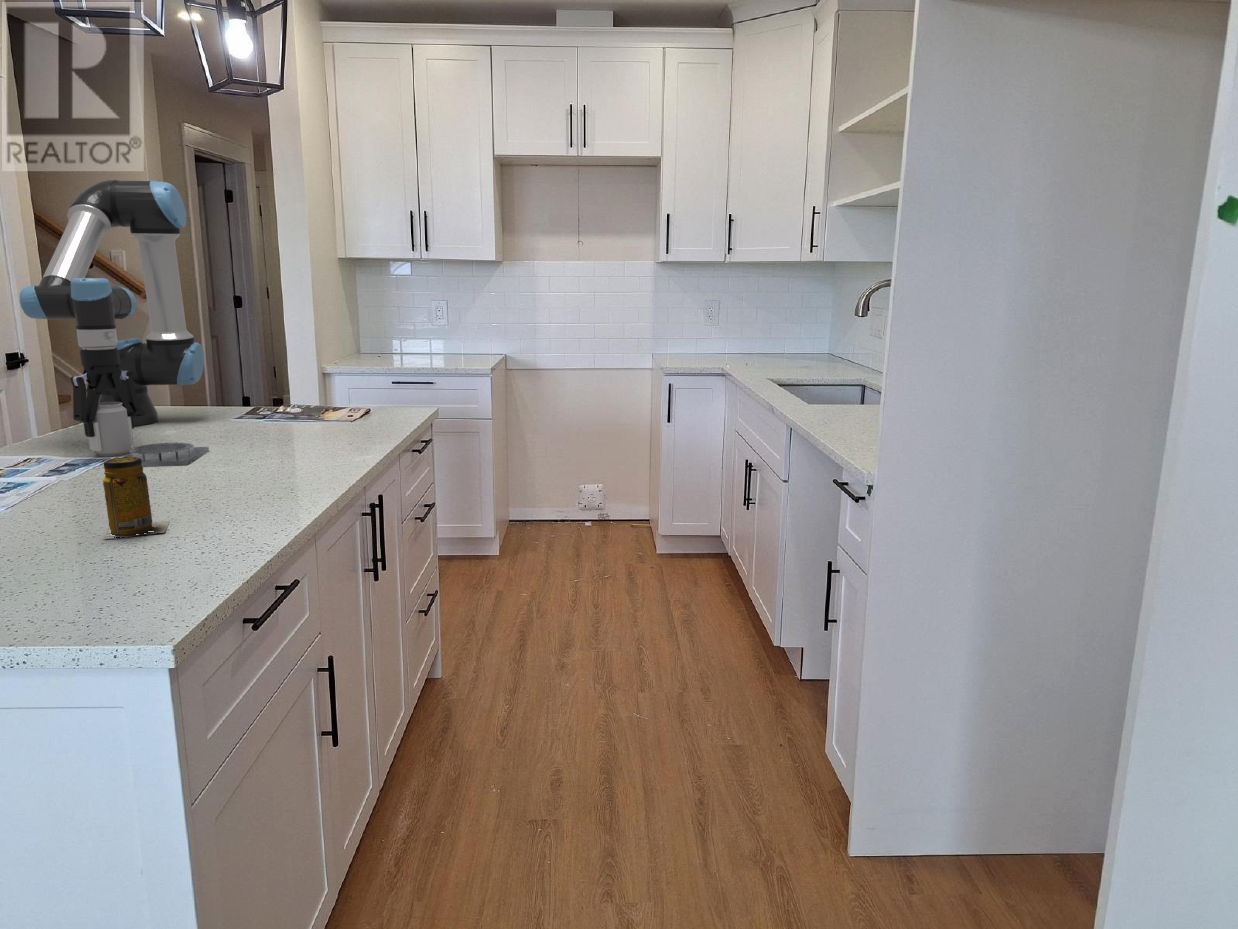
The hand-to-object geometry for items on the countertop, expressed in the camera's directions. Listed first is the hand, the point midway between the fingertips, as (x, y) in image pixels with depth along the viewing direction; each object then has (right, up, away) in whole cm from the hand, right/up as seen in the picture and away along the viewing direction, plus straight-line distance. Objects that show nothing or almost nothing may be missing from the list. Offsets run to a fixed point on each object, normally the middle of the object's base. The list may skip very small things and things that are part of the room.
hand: (112, 446), depth 186 cm
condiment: (+39, -15, -55) cm, 69 cm away
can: (0, -2, 0) cm, 2 cm away
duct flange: (+14, -3, -4) cm, 15 cm away
